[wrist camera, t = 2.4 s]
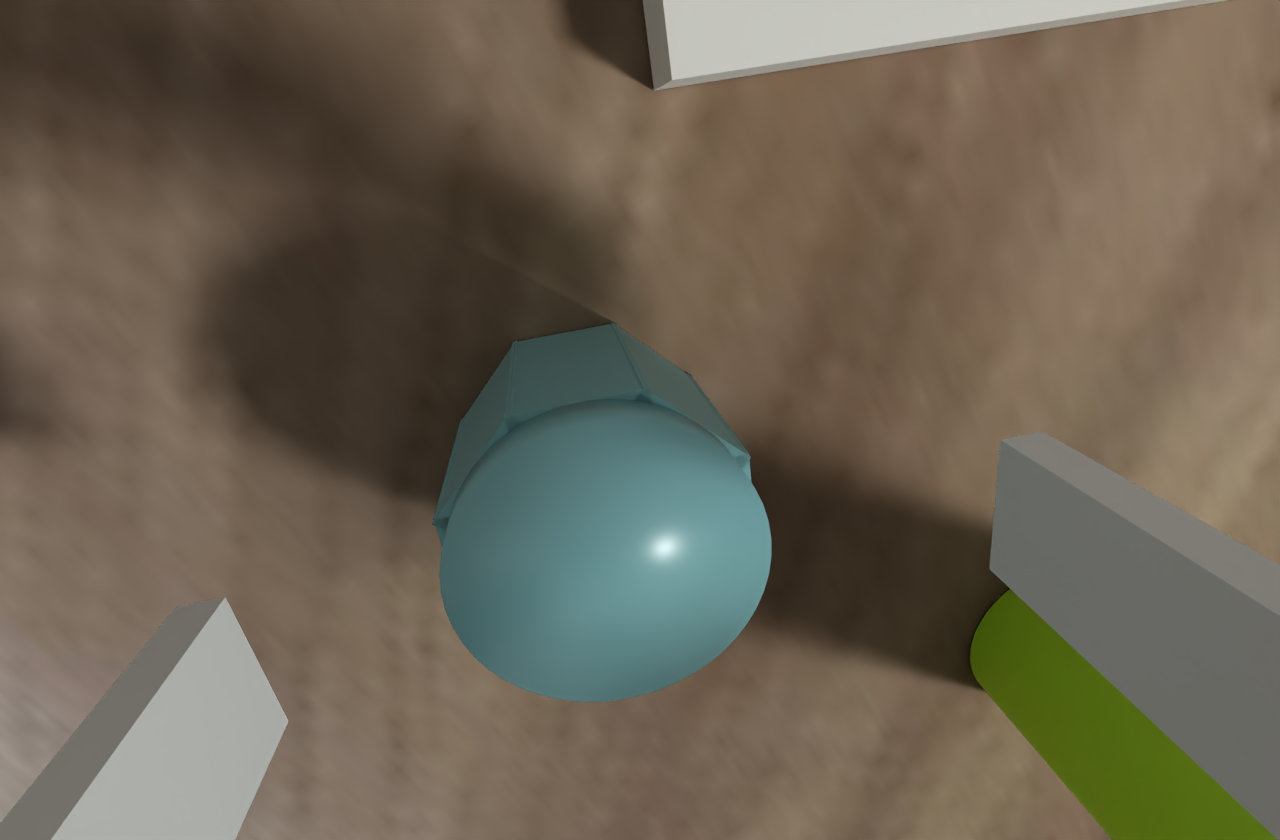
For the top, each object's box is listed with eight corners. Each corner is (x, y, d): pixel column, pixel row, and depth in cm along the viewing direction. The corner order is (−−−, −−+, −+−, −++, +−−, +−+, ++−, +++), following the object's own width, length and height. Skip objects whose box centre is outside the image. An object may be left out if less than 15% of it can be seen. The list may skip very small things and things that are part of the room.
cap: (499, 559, 18) (485, 734, 13) (440, 354, 16) (391, 459, 10) (708, 514, 19) (783, 663, 13) (682, 308, 16) (760, 385, 11)
